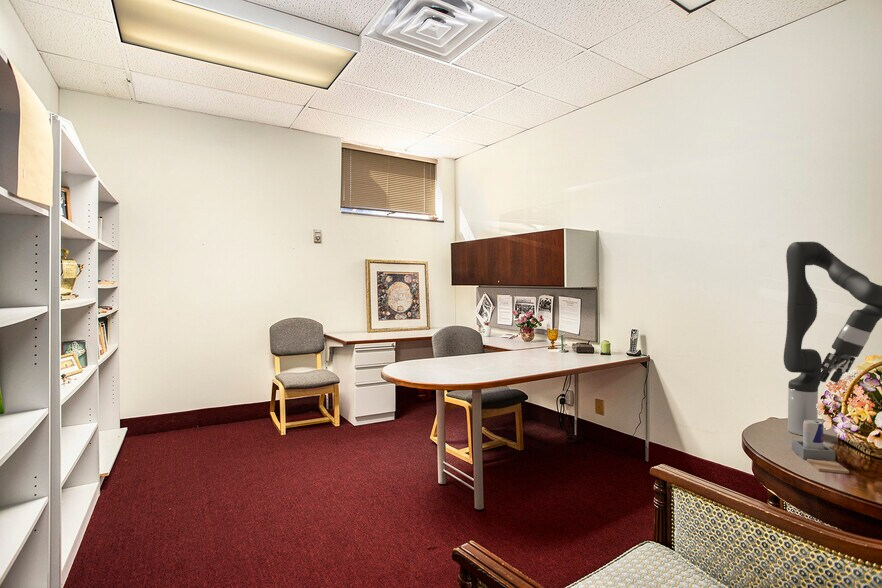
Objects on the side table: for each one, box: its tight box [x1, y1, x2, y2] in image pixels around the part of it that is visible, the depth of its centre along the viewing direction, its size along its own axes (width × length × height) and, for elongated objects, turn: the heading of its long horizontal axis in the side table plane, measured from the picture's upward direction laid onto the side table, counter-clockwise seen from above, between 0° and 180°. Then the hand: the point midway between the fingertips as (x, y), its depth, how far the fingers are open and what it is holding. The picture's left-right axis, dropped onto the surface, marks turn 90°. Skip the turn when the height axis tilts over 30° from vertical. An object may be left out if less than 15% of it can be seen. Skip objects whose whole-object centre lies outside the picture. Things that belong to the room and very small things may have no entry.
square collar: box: [791, 439, 836, 461], centre depth 160 cm, size 9×9×4 cm
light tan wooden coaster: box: [806, 459, 850, 474], centre depth 151 cm, size 8×8×1 cm
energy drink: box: [802, 419, 824, 450], centre depth 160 cm, size 5×5×12 cm
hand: (827, 381), depth 162 cm, fingers open, 8 cm apart
